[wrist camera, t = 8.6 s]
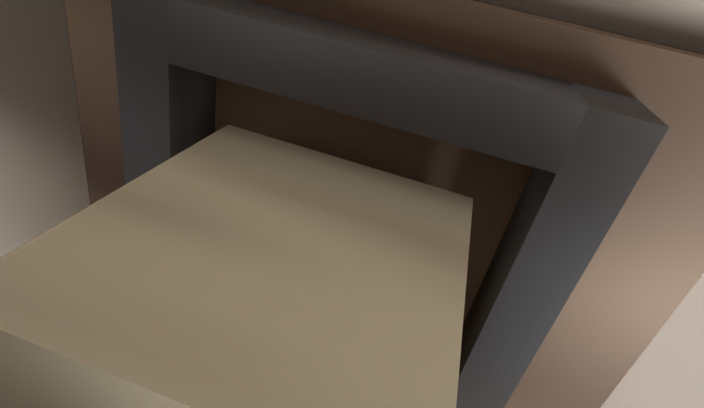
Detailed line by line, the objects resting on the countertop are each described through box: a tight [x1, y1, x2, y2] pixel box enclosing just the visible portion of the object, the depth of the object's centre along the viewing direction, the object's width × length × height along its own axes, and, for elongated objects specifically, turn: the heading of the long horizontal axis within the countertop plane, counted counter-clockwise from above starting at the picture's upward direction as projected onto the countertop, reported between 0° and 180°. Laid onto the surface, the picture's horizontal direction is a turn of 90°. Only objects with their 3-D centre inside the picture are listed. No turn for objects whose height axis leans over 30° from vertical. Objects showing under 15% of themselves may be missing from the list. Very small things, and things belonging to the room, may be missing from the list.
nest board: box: [64, 0, 704, 408], centre depth 10 cm, size 13×13×2 cm
